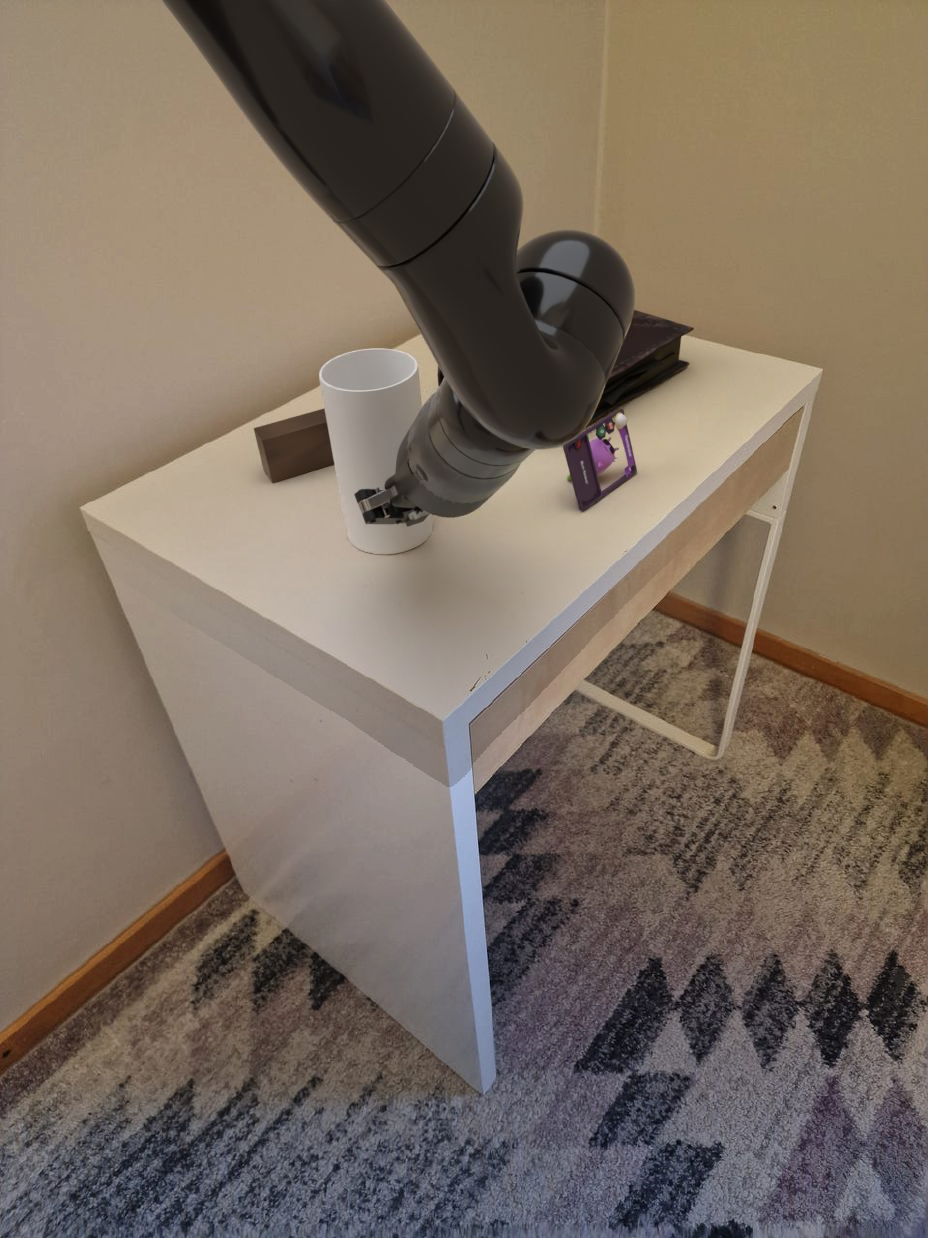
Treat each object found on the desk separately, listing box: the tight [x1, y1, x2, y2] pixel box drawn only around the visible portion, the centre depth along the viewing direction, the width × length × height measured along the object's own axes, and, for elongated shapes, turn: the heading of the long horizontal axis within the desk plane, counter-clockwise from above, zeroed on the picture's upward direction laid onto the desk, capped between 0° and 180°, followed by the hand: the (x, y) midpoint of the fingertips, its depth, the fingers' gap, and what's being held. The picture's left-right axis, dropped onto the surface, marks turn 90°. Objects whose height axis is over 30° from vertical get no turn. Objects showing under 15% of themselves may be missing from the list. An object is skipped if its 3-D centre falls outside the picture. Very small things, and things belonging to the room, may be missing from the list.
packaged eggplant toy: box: [562, 408, 638, 512], centre depth 83 cm, size 7×5×9 cm
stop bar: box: [253, 408, 334, 484], centre depth 90 cm, size 14×3×5 cm, turn 118°
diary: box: [437, 309, 695, 425], centre depth 100 cm, size 19×25×5 cm
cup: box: [318, 347, 434, 555], centre depth 75 cm, size 8×8×16 cm
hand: (409, 513), depth 75 cm, fingers closed
